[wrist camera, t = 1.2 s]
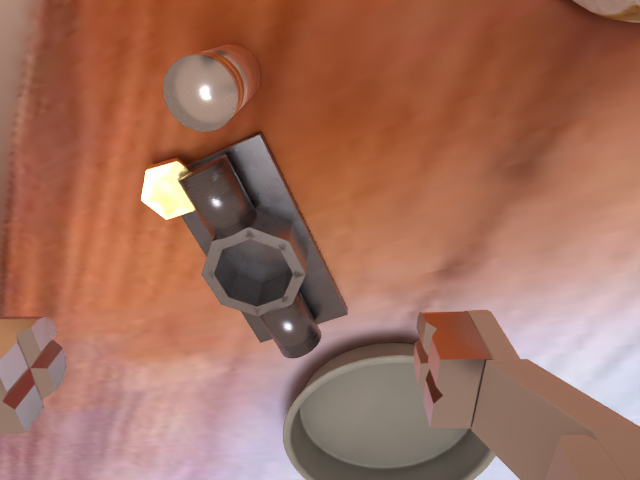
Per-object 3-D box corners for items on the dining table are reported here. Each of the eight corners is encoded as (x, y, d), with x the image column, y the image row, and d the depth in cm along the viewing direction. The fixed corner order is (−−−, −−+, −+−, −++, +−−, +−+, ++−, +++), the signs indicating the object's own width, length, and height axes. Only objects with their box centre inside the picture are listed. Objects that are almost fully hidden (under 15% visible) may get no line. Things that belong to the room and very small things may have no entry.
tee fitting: (261, 131, 37) (250, 149, 32) (347, 308, 45) (349, 343, 40) (161, 175, 39) (138, 197, 34) (261, 336, 47) (254, 372, 42)
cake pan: (489, 465, 57) (501, 499, 53) (305, 479, 59) (303, 513, 55) (494, 316, 46) (510, 346, 42) (267, 341, 48) (261, 371, 44)
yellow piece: (165, 147, 37) (164, 150, 35) (211, 186, 39) (213, 191, 37) (130, 184, 37) (127, 190, 35) (178, 222, 39) (178, 228, 37)
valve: (244, 34, 33) (213, 42, 24) (270, 89, 35) (249, 114, 26) (195, 58, 34) (148, 74, 25) (222, 110, 36) (187, 142, 27)
